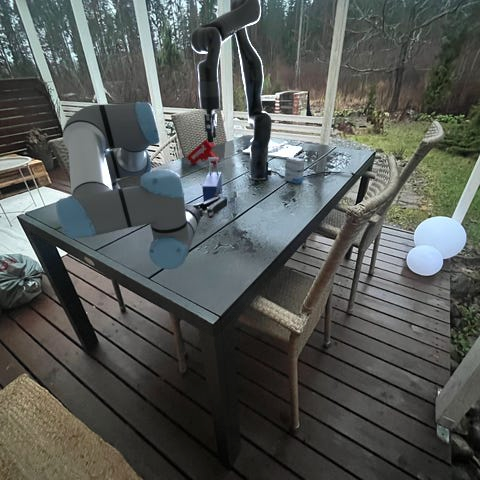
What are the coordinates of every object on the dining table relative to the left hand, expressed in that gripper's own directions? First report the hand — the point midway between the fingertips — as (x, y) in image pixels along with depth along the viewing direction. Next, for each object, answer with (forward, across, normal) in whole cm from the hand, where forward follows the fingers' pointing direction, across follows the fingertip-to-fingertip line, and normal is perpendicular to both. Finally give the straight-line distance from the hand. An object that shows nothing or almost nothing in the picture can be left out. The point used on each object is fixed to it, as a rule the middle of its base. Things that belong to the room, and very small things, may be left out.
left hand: (197, 192), depth 86 cm
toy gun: (+88, -13, -15) cm, 90 cm away
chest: (+29, 0, -17) cm, 34 cm away
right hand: (+34, +1, +10) cm, 35 cm away
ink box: (+59, +39, -17) cm, 73 cm away
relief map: (+119, +32, -15) cm, 124 cm away
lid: (+29, 0, -6) cm, 30 cm away
